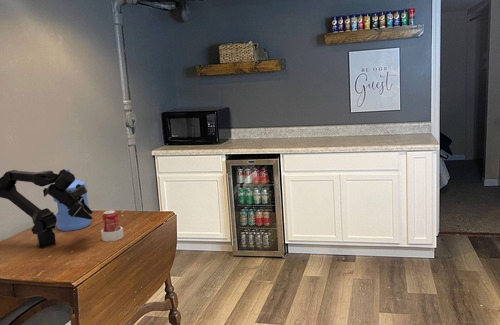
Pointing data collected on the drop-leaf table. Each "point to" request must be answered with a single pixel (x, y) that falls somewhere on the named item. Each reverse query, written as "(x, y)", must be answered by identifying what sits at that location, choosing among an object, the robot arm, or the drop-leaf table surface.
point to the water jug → (67, 221)
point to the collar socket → (112, 235)
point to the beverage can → (110, 221)
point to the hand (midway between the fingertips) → (92, 215)
